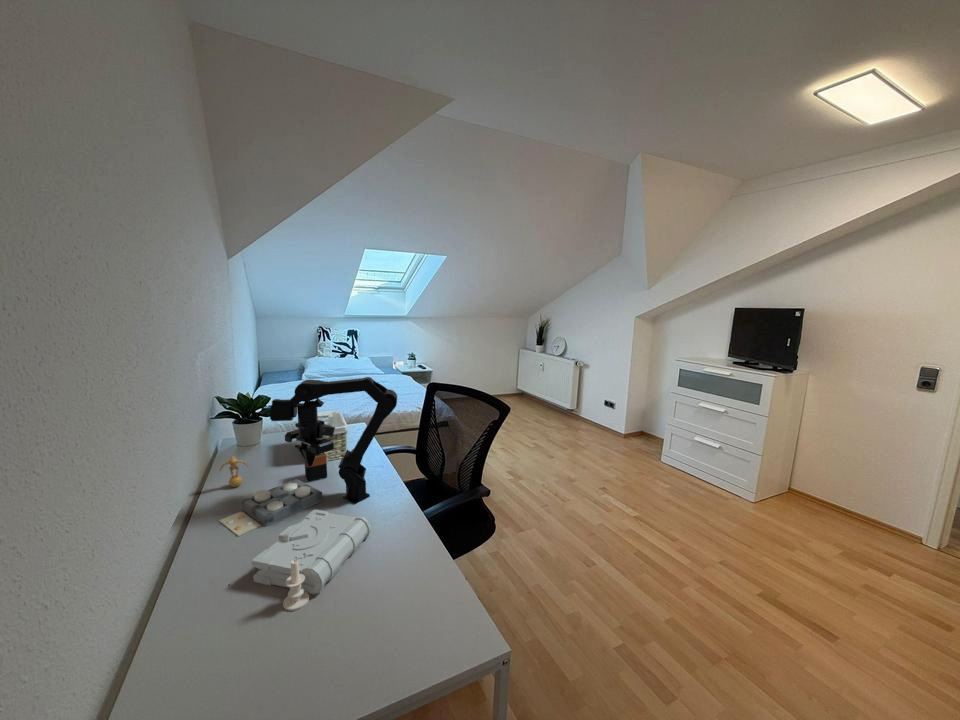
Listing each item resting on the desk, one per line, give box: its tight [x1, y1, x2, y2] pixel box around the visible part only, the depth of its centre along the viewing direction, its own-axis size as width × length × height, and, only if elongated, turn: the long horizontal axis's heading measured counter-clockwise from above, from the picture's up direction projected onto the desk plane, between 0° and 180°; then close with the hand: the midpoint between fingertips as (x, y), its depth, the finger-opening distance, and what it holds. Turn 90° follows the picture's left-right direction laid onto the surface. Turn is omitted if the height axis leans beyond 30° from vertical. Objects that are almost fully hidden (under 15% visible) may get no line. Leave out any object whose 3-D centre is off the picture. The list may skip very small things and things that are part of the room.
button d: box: [253, 489, 271, 503], centre depth 121 cm, size 4×4×2 cm
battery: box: [304, 453, 328, 483], centre depth 141 cm, size 4×7×10 cm, turn 127°
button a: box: [295, 486, 310, 499], centre depth 124 cm, size 4×4×2 cm
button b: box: [283, 483, 298, 492], centre depth 128 cm, size 4×4×2 cm
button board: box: [241, 478, 324, 527], centre depth 123 cm, size 15×18×3 cm
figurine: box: [219, 455, 249, 488], centre depth 132 cm, size 8×6×12 cm
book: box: [251, 509, 372, 595], centre depth 101 cm, size 19×28×8 cm
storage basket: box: [317, 410, 348, 462], centre depth 164 cm, size 24×16×15 cm
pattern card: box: [219, 511, 261, 537], centre depth 112 cm, size 12×6×1 cm, turn 56°
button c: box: [267, 501, 283, 512], centre depth 117 cm, size 4×4×2 cm
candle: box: [282, 559, 310, 612], centre depth 84 cm, size 5×5×10 cm
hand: (310, 466), depth 124 cm, fingers closed
